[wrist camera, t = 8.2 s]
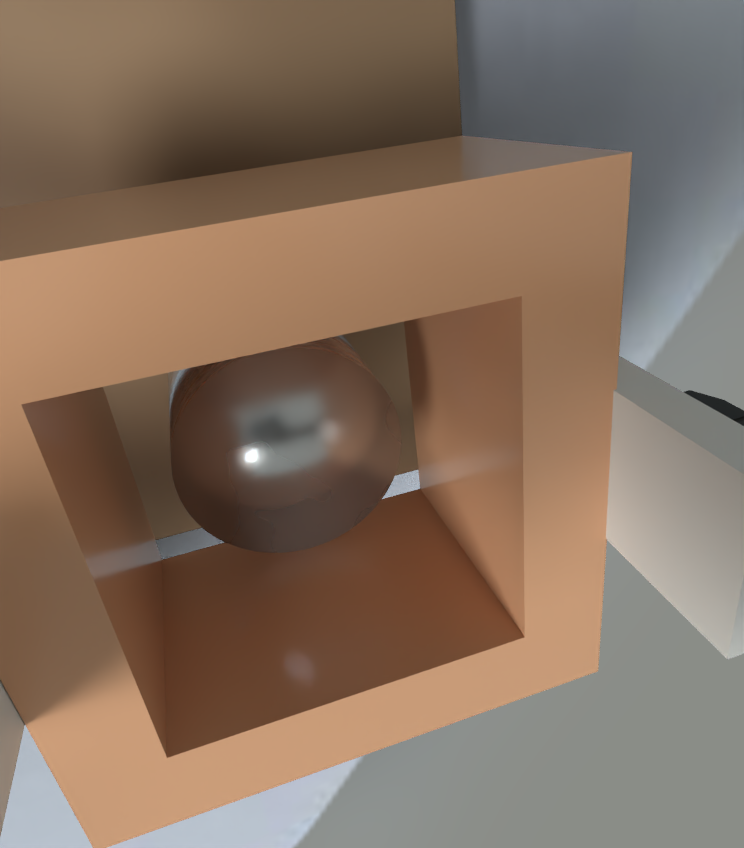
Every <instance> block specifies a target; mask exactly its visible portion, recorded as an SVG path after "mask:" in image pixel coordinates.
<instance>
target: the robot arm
mask: <svg viewBox="0 0 744 848" xmlns="http://www.w3.org/2000/svg"><path fill="white" fill-rule="evenodd" d="M606 539H607V540H608V541H609V542H610V543H611V544H612V545H613V546H614V547H615V548H616V549H617V550H618V551H619V552H620V553H621V554H622V555H623V556H624V557H625V558H626V559H627V560H628V561H629V562H630V563H631V564H632V565H633V566H634V567H635V568H636V569H637V570H638V571H639V572H640V573H641V574H642V575H643V576H644V577H645V578H646V579H647V580H648V581H649V582H650V583H651V584H652V585H653V586H654V587H655V588H656V589H657V590H658V591H659V592H660V593H661V594H662V595H663V596H664V597H665V598H666V599H667V600H668V601H669V602H670V603H671V604H672V605H673V606H674V607H675V608H676V609H677V610H678V611H679V612H680V613H681V614H682V615H683V616H684V617H685V618H686V619H687V620H688V621H689V622H690V623H691V624H692V625H693V626H694V627H696V629H697V630H698V631H699V632H700V633H701V634H702V635H703V636H704V637H705V638H706V639H707V640H709V642H710V643H711V644H712V645H713V646H714V647H715V648H716V649H718V651H720V652H721V653H722V654H723V655H724V657H726V658H727V659H730V658H733V657H736V656H738V655H741V654H744V411H743V410H741V409H740V408H738V407H736V406H734V405H732V404H730V403H728V402H727V401H725V400H722V399H719V398H715V397H711V396H708V395H704V394H701V393H697V392H694V391H686V392H682V391H680V390H679V389H677V388H675V387H673V386H671V385H670V384H668V383H666V382H664V381H663V380H661V379H659V378H657V377H655V376H654V375H652V374H650V373H649V372H647V371H645V370H643V369H641V368H640V367H638V366H636V365H634V364H633V363H631V362H629V361H627V360H626V359H624V358H622V357H620V356H619V361H618V377H617V389H616V390H614V392H613V411H612V430H611V449H610V468H609V487H608V506H607V525H606ZM24 725H25V723H24V721H23V719H22V718H21V716H20V714H19V712H18V710H17V709H16V707H15V705H14V703H13V701H12V700H11V698H10V696H9V694H8V692H7V690H6V689H5V687H4V685H3V683H2V681H1V680H0V835H1V831H2V826H3V821H4V817H5V812H6V808H7V803H8V799H9V794H10V789H11V785H12V780H13V776H14V771H15V766H16V762H17V757H18V753H19V748H20V743H21V739H22V734H23V730H24Z"/></svg>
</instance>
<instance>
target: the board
mask: <svg viewBox="0 0 744 848" xmlns="http://www.w3.org/2000/svg"><path fill="white" fill-rule="evenodd" d="M457 136H462V127H461V109H460V90H459V71H458V52H457V33H456V14H455V0H0V208H4V207H11V206H17V205H24V204H30V203H36V202H43V201H49V200H55V199H62V198H68V197H75V196H81V195H87V194H94V193H100V192H106V191H113V190H119V189H125V188H132V187H138V186H145V185H151V184H157V183H164V182H170V181H176V180H183V179H189V178H196V177H202V176H208V175H215V174H221V173H227V172H234V171H240V170H246V169H253V168H259V167H266V166H272V165H278V164H285V163H291V162H297V161H304V160H310V159H316V158H323V157H329V156H336V155H342V154H348V153H355V152H361V151H367V150H374V149H380V148H387V147H393V146H399V145H406V144H412V143H418V142H425V141H431V140H437V139H444V138H450V137H457ZM344 337H345V338H346V339H347V340H348V342H349V343H350V344H351V346H352V347H353V348H354V350H355V351H356V352H357V354H358V355H359V356H360V357H361V359H362V360H363V361H364V363H365V364H366V365H367V367H368V368H369V369H370V371H371V372H372V373H373V375H374V376H375V377H376V378H377V380H378V381H379V382H380V384H381V385H382V386H383V388H384V389H385V390H386V392H387V393H388V395H389V397H390V398H391V400H392V402H393V404H394V406H395V409H396V412H397V415H398V417H399V423H400V428H401V453H400V459H399V463H398V467H397V470H396V473H395V475H399V474H403V473H406V472H410V471H414V470H418V460H417V450H416V440H415V429H414V419H413V409H412V399H411V389H410V379H409V368H408V358H407V348H406V338H405V328H404V322H399V323H395V324H390V325H385V326H381V327H376V328H372V329H367V330H362V331H358V332H353V333H348V334H344ZM103 389H104V392H105V394H106V397H107V400H108V403H109V406H110V409H111V412H112V415H113V418H114V421H115V424H116V427H117V430H118V432H119V435H120V438H121V441H122V444H123V447H124V450H125V453H126V456H127V459H128V462H129V465H130V468H131V470H132V473H133V476H134V479H135V482H136V485H137V488H138V491H139V494H140V497H141V500H142V503H143V505H144V508H145V511H146V514H147V517H148V520H149V523H150V526H151V529H152V532H153V535H154V538H155V540H158V539H161V538H165V537H169V536H173V535H176V534H180V533H184V532H187V531H191V530H195V529H199V528H202V527H201V526H200V525H199V524H198V523H197V522H196V521H195V520H194V519H193V518H192V517H191V515H190V514H189V513H188V512H187V510H186V509H185V507H184V505H183V504H182V502H181V500H180V498H179V496H178V493H177V491H176V489H175V485H174V481H173V477H172V468H171V448H170V416H169V385H168V373H164V374H159V375H155V376H150V377H146V378H141V379H136V380H132V381H127V382H122V383H118V384H113V385H109V386H104V387H103Z"/></svg>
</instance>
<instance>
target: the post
mask: <svg viewBox="0 0 744 848" xmlns="http://www.w3.org/2000/svg"><path fill="white" fill-rule="evenodd" d="M168 385H169V416H170V448H171V468H172V477H173V481H174V485H175V489H176V491H177V493H178V496H179V498H180V500H181V502H182V504H183V505H184V507H185V509H186V510H187V512H188V513H189V514H190V515H191V517H192V518H193V519H194V520H195V521H196V522H197V523H198V524H199V525H200V526H201V527H202V528H203V529H205V530H206V531H207V532H209V533H210V534H212V535H213V536H215V537H216V538H218V539H220V540H222V541H224V542H226V543H228V544H230V545H233V546H236V547H239V548H242V549H246V550H251V551H256V552H266V553H285V552H293V551H300V550H304V549H308V548H312V547H315V546H318V545H321V544H324V543H326V542H328V541H331V540H333V539H335V538H337V537H339V536H341V535H342V534H344V533H346V532H347V531H349V530H350V529H352V528H353V527H354V526H356V525H357V524H358V523H360V522H361V521H362V520H363V519H364V518H365V517H366V516H368V515H369V514H370V513H371V512H372V510H373V509H374V508H375V507H376V506H377V505H378V503H379V502H380V501H381V499H382V498H383V496H384V495H385V493H386V492H387V490H388V488H389V486H390V485H391V483H392V481H393V478H394V476H395V473H396V470H397V467H398V463H399V459H400V453H401V428H400V423H399V417H398V415H397V412H396V409H395V406H394V404H393V402H392V400H391V398H390V397H389V395H388V393H387V392H386V390H385V389H384V388H383V386H382V385H381V384H380V382H379V381H378V380H377V378H376V377H375V376H374V375H373V373H372V372H371V371H370V369H369V368H368V367H367V365H366V364H365V363H364V361H363V360H362V359H361V357H360V356H359V355H358V354H357V352H356V351H355V350H354V348H353V347H352V346H351V344H350V343H349V342H348V340H347V339H346V338H345V337H344V335H339V336H335V337H330V338H325V339H321V340H316V341H312V342H307V343H302V344H298V345H293V346H289V347H284V348H279V349H275V350H270V351H265V352H261V353H256V354H252V355H247V356H242V357H238V358H233V359H229V360H224V361H219V362H215V363H210V364H205V365H201V366H196V367H192V368H187V369H182V370H178V371H173V372H169V373H168Z"/></svg>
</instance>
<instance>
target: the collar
mask: <svg viewBox="0 0 744 848" xmlns="http://www.w3.org/2000/svg"><path fill="white" fill-rule="evenodd" d="M631 164H632V152H628V151H618V150H608V149H597V148H587V147H576V146H566V145H556V144H545V143H535V142H524V141H514V140H504V139H493V138H483V137H472V136H457V137H450V138H444V139H437V140H431V141H425V142H418V143H412V144H406V145H399V146H393V147H387V148H380V149H374V150H367V151H361V152H355V153H348V154H342V155H336V156H329V157H323V158H316V159H310V160H304V161H297V162H291V163H285V164H278V165H272V166H266V167H259V168H253V169H246V170H240V171H234V172H227V173H221V174H215V175H208V176H202V177H196V178H189V179H183V180H176V181H170V182H164V183H157V184H151V185H145V186H138V187H132V188H125V189H119V190H113V191H106V192H100V193H94V194H87V195H81V196H75V197H68V198H62V199H55V200H49V201H43V202H36V203H30V204H24V205H17V206H11V207H4V208H0V680H1V681H2V683H3V685H4V687H5V689H6V690H7V692H8V694H9V696H10V698H11V700H12V701H13V703H14V705H15V707H16V709H17V710H18V712H19V714H20V716H21V718H22V719H23V721H24V723H25V725H26V727H27V729H28V730H29V732H30V734H31V736H32V738H33V739H34V741H35V743H36V745H37V747H38V748H39V750H40V752H41V754H42V756H43V758H44V759H45V761H46V763H47V765H48V767H49V768H50V770H51V772H52V774H53V776H54V777H55V779H56V781H57V783H58V785H59V787H60V788H61V790H62V792H63V794H64V796H65V797H66V799H67V801H68V803H69V805H70V806H71V808H72V810H73V812H74V814H75V815H76V817H77V819H78V821H79V823H80V825H81V826H82V828H83V830H84V832H85V834H86V835H87V837H88V839H89V841H90V843H91V844H92V846H93V848H106V847H109V846H112V845H115V844H118V843H120V842H123V841H126V840H129V839H132V838H134V837H137V836H140V835H143V834H145V833H148V832H151V831H154V830H157V829H159V828H162V827H165V826H168V825H171V824H173V823H176V822H179V821H182V820H185V819H187V818H190V817H193V816H196V815H198V814H201V813H204V812H207V811H210V810H212V809H215V808H218V807H221V806H224V805H226V804H229V803H232V802H235V801H238V800H240V799H243V798H246V797H249V796H251V795H254V794H257V793H260V792H263V791H265V790H268V789H271V788H274V787H277V786H279V785H282V784H285V783H288V782H291V781H293V780H296V779H299V778H302V777H304V776H307V775H310V774H313V773H316V772H318V771H321V770H324V769H327V768H330V767H332V766H335V765H338V764H341V763H343V762H346V761H349V760H352V759H355V758H357V757H360V756H363V755H366V754H369V753H371V752H374V751H377V750H380V749H383V748H385V747H388V746H391V745H394V744H396V743H399V742H402V741H405V740H408V739H410V738H413V737H416V736H419V735H422V734H424V733H427V732H430V731H432V730H435V729H438V728H441V727H444V726H447V725H449V724H452V723H455V722H458V721H461V720H463V719H466V718H469V717H472V716H475V715H477V714H480V713H483V712H486V711H489V710H491V709H494V708H497V707H500V706H502V705H505V704H508V703H511V702H513V701H516V700H519V699H522V698H525V697H527V696H530V695H533V694H536V693H539V692H542V691H544V690H547V689H550V688H553V687H555V686H558V685H561V684H564V683H567V682H569V681H572V680H575V679H578V678H581V677H583V676H586V675H589V674H591V673H594V672H597V671H598V665H599V649H600V635H601V620H602V604H603V589H604V574H605V559H606V543H607V539H606V525H607V506H608V487H609V468H610V449H611V430H612V411H613V392H614V390H616V389H617V377H618V361H619V346H620V331H621V316H622V301H623V285H624V270H625V255H626V240H627V225H628V210H629V194H630V179H631ZM399 322H404V328H405V338H406V348H407V358H408V368H409V379H410V389H411V399H412V409H413V419H414V429H415V440H416V450H417V460H418V470H419V480H420V489H418V490H414V491H411V492H407V493H403V494H400V495H396V496H393V497H389V498H385V499H382V500H381V501H380V502H379V503H378V505H377V506H376V507H375V508H374V509H373V510H372V512H371V513H370V514H369V515H368V516H366V517H365V518H364V519H363V520H362V521H361V522H360V523H358V524H357V525H356V526H354V527H353V528H352V529H350V530H349V531H347V532H346V533H344V534H342V535H341V536H339V537H337V538H335V539H333V540H331V541H328V542H326V543H324V544H321V545H318V546H315V547H312V548H308V549H304V550H300V551H293V552H285V553H266V552H256V551H251V550H246V549H242V548H239V547H236V546H233V545H230V544H228V543H226V542H225V543H222V544H218V545H214V546H211V547H207V548H203V549H200V550H196V551H192V552H189V553H185V554H182V555H178V556H174V557H171V558H167V559H163V560H162V558H161V555H160V552H159V549H158V546H157V543H156V541H155V538H154V535H153V532H152V529H151V526H150V523H149V520H148V517H147V514H146V511H145V508H144V505H143V503H142V500H141V497H140V494H139V491H138V488H137V485H136V482H135V479H134V476H133V473H132V470H131V468H130V465H129V462H128V459H127V456H126V453H125V450H124V447H123V444H122V441H121V438H120V435H119V432H118V430H117V427H116V424H115V421H114V418H113V415H112V412H111V409H110V406H109V403H108V400H107V397H106V394H105V392H104V389H103V387H104V386H109V385H113V384H118V383H122V382H127V381H132V380H136V379H141V378H146V377H150V376H155V375H159V374H164V373H169V372H173V371H178V370H182V369H187V368H192V367H196V366H201V365H205V364H210V363H215V362H219V361H224V360H229V359H233V358H238V357H242V356H247V355H252V354H256V353H261V352H265V351H270V350H275V349H279V348H284V347H289V346H293V345H298V344H302V343H307V342H312V341H316V340H321V339H325V338H330V337H335V336H339V335H344V334H348V333H353V332H358V331H362V330H367V329H372V328H376V327H381V326H385V325H390V324H395V323H399Z"/></svg>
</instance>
